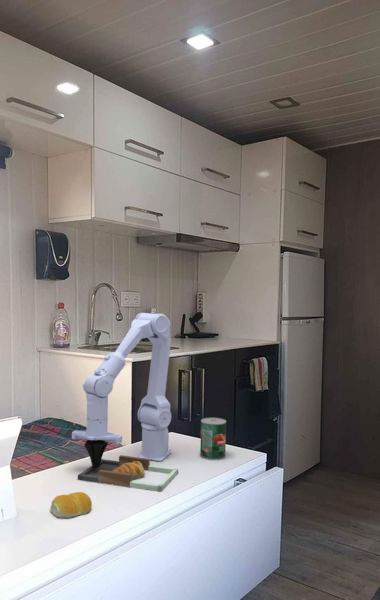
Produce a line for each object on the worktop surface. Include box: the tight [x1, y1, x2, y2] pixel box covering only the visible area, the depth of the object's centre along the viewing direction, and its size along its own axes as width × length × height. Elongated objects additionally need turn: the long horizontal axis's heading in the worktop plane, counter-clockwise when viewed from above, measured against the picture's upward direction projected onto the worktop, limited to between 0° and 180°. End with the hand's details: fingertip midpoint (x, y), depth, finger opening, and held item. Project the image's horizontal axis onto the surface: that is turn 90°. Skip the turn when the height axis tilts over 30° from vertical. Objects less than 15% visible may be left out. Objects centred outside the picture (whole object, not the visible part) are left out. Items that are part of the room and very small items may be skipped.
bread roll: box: [49, 491, 93, 519], centre depth 113 cm, size 8×9×4 cm
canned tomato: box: [199, 417, 227, 461], centre depth 154 cm, size 8×8×11 cm
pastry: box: [112, 461, 146, 481], centre depth 134 cm, size 9×7×4 cm
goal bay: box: [129, 464, 179, 492], centre depth 132 cm, size 14×8×1 cm, turn 163°
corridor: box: [97, 455, 151, 488], centre depth 135 cm, size 14×9×3 cm, turn 163°
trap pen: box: [77, 458, 119, 484], centre depth 137 cm, size 14×6×1 cm, turn 163°
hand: (96, 466), depth 137 cm, fingers closed
